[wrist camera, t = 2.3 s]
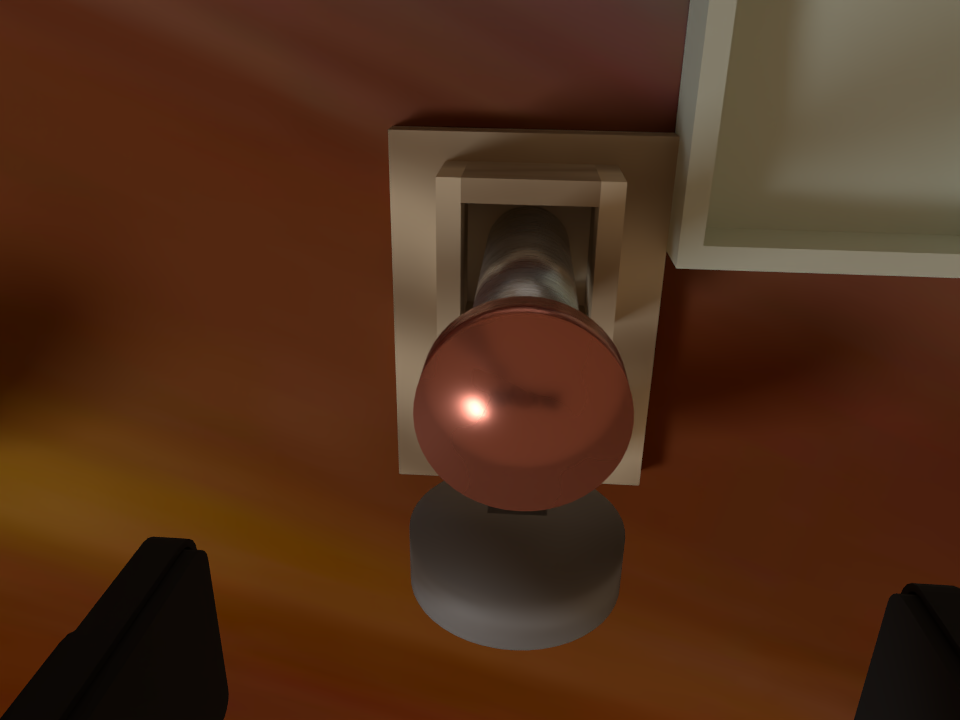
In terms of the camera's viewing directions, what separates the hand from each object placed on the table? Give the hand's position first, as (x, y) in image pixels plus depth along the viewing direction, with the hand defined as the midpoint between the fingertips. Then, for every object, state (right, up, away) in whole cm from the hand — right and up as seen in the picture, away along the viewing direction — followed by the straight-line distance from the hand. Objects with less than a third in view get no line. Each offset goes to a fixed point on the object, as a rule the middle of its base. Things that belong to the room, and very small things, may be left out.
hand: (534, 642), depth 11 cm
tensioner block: (+1, +6, +20) cm, 20 cm away
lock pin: (+1, +8, +17) cm, 19 cm away
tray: (+12, +14, +15) cm, 24 cm away
